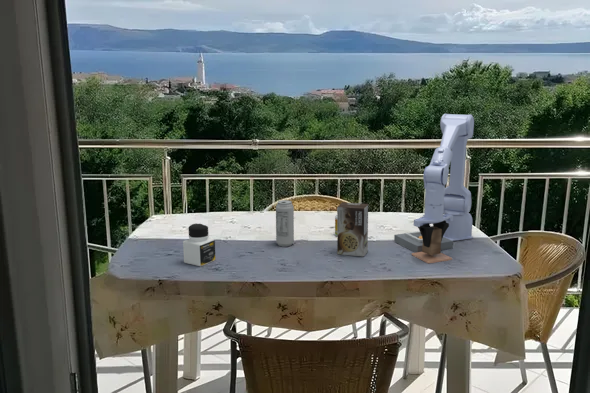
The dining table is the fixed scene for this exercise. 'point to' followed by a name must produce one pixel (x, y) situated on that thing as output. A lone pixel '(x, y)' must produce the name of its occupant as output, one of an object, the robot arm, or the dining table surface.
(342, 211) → the coffee box
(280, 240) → the energy drink can
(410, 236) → the grey square socket base
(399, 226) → the dining table surface
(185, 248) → the medicine bottle
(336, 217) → the supplement bottle
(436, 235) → the brown rectangular block
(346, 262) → the dining table surface
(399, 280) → the dining table surface
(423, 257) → the terracotta tile
